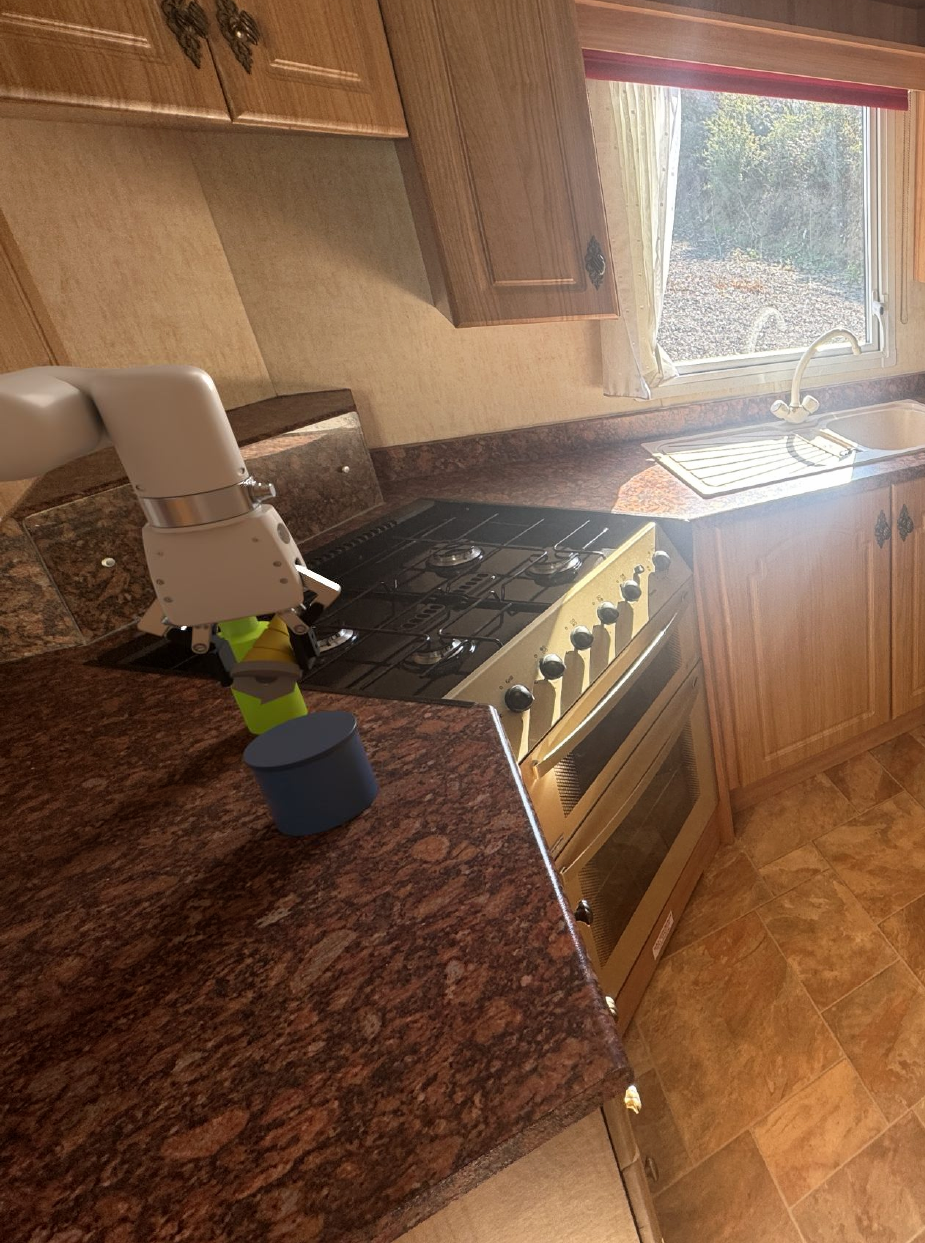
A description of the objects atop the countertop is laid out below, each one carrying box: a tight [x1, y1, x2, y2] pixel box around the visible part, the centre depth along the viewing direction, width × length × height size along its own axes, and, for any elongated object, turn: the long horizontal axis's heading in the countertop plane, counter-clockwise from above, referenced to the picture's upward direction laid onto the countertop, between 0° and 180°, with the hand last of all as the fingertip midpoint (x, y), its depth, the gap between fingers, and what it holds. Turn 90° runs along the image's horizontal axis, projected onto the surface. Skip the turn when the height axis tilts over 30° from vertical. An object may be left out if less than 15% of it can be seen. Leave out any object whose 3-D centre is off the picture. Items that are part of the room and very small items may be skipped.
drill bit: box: [230, 614, 304, 705], centre depth 74 cm, size 5×5×10 cm
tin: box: [242, 710, 380, 837], centre depth 80 cm, size 9×9×9 cm
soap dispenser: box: [218, 616, 309, 735], centre depth 92 cm, size 6×7×20 cm
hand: (270, 670), depth 74 cm, fingers closed on drill bit, 5 cm apart
